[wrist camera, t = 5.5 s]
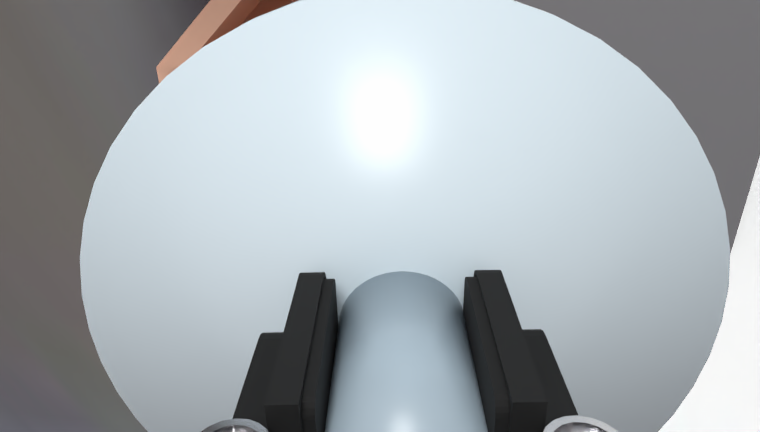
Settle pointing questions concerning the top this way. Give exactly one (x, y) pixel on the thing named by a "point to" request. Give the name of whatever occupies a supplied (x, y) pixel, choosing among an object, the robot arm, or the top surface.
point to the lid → (405, 215)
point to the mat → (692, 72)
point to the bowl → (214, 28)
